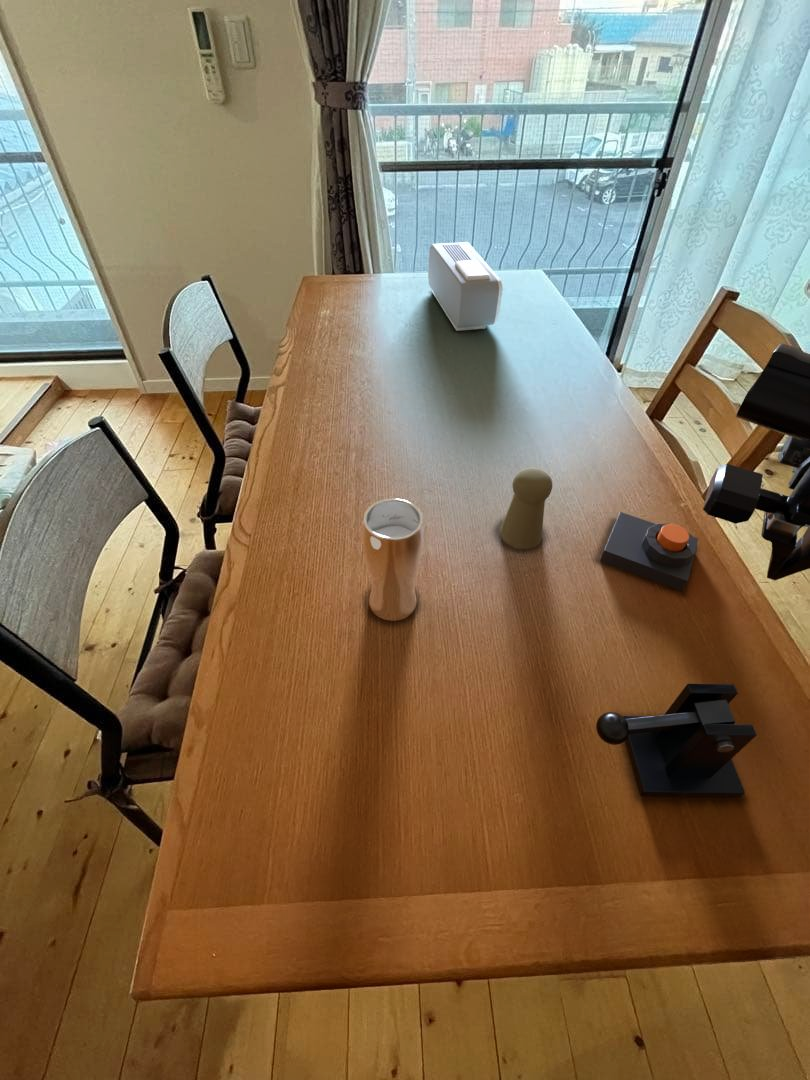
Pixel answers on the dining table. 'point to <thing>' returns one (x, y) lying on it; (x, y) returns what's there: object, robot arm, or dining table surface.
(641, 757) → the switch bracket
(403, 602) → the beer glass
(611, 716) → the switch
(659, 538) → the button
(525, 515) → the olive game pawn
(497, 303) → the alarm clock
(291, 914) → the dining table surface
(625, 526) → the button box
